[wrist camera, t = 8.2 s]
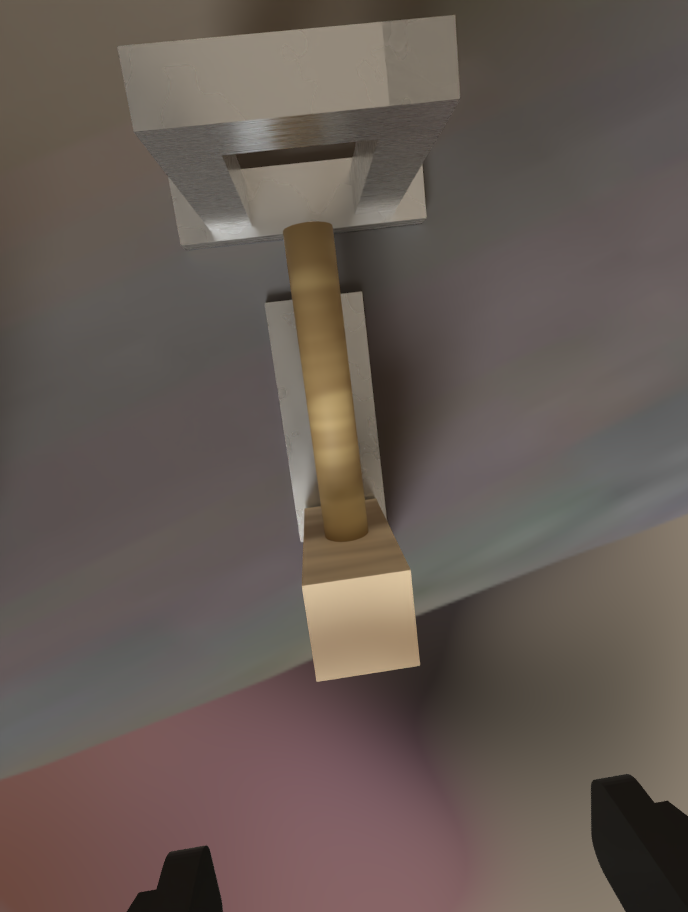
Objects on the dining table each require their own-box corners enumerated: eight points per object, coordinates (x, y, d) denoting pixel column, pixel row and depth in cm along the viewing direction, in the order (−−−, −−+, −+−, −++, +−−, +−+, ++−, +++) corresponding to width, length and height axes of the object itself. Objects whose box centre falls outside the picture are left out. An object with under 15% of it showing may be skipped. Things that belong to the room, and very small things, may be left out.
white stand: (174, 184, 23) (53, 29, 12) (416, 159, 23) (508, -12, 13) (239, 547, 27) (193, 673, 16) (445, 517, 27) (533, 621, 17)
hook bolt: (266, 253, 23) (240, 189, 14) (347, 244, 23) (371, 175, 14) (314, 574, 27) (316, 681, 18) (383, 564, 27) (420, 665, 18)
